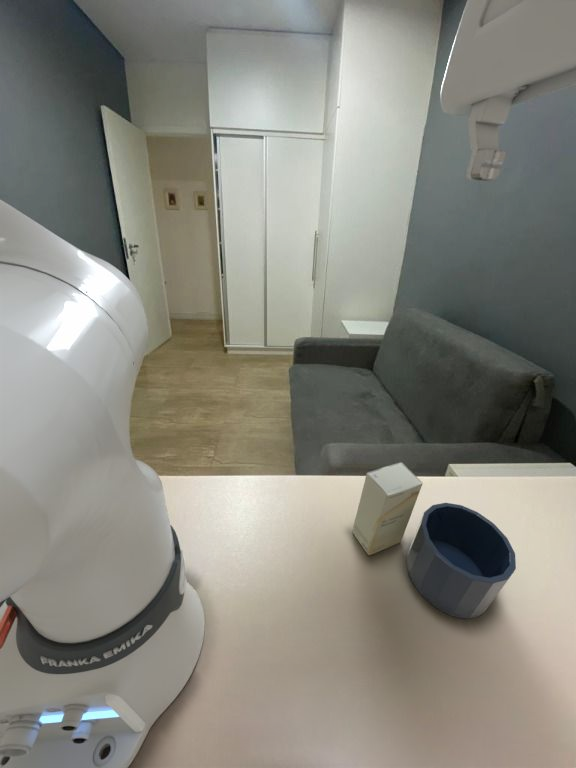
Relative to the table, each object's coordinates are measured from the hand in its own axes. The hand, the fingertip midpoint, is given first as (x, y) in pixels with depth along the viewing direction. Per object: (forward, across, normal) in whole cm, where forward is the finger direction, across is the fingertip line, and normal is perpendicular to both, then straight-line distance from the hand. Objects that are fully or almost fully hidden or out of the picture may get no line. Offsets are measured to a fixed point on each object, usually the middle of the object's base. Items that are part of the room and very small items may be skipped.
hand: (538, 175), depth 19 cm
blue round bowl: (+45, +2, +8) cm, 45 cm away
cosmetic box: (+45, -6, +2) cm, 45 cm away
